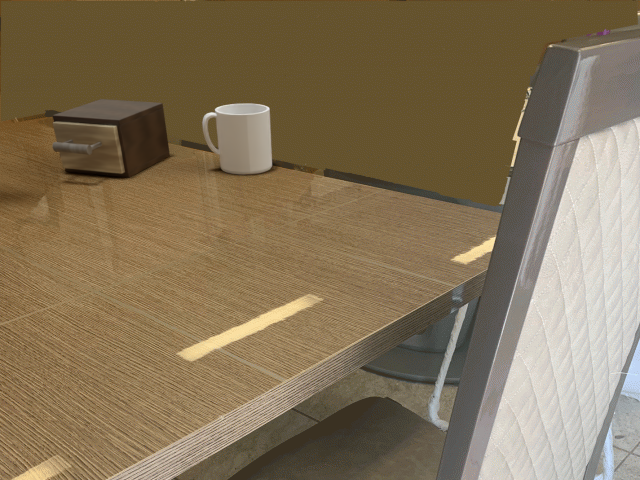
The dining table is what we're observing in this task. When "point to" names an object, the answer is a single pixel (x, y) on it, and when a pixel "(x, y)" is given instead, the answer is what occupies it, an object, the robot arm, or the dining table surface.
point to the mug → (242, 138)
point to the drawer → (88, 146)
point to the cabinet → (126, 131)
